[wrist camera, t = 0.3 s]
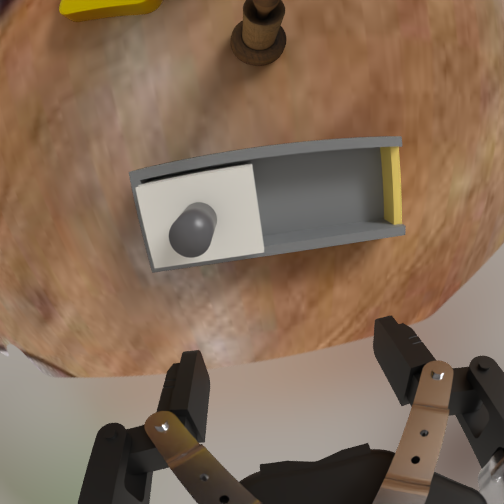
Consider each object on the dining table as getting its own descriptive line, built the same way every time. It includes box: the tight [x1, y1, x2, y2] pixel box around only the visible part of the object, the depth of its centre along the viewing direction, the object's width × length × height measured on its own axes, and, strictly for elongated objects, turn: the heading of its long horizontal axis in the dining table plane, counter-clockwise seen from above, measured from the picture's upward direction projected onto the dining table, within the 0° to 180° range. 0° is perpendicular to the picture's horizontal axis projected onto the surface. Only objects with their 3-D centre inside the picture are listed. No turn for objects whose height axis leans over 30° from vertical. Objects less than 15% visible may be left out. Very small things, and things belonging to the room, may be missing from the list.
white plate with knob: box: [136, 162, 265, 268], centre depth 31 cm, size 9×12×13 cm
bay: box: [129, 136, 405, 273], centre depth 36 cm, size 12×32×5 cm, turn 98°
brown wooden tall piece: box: [231, 0, 286, 65], centre depth 23 cm, size 7×6×18 cm
